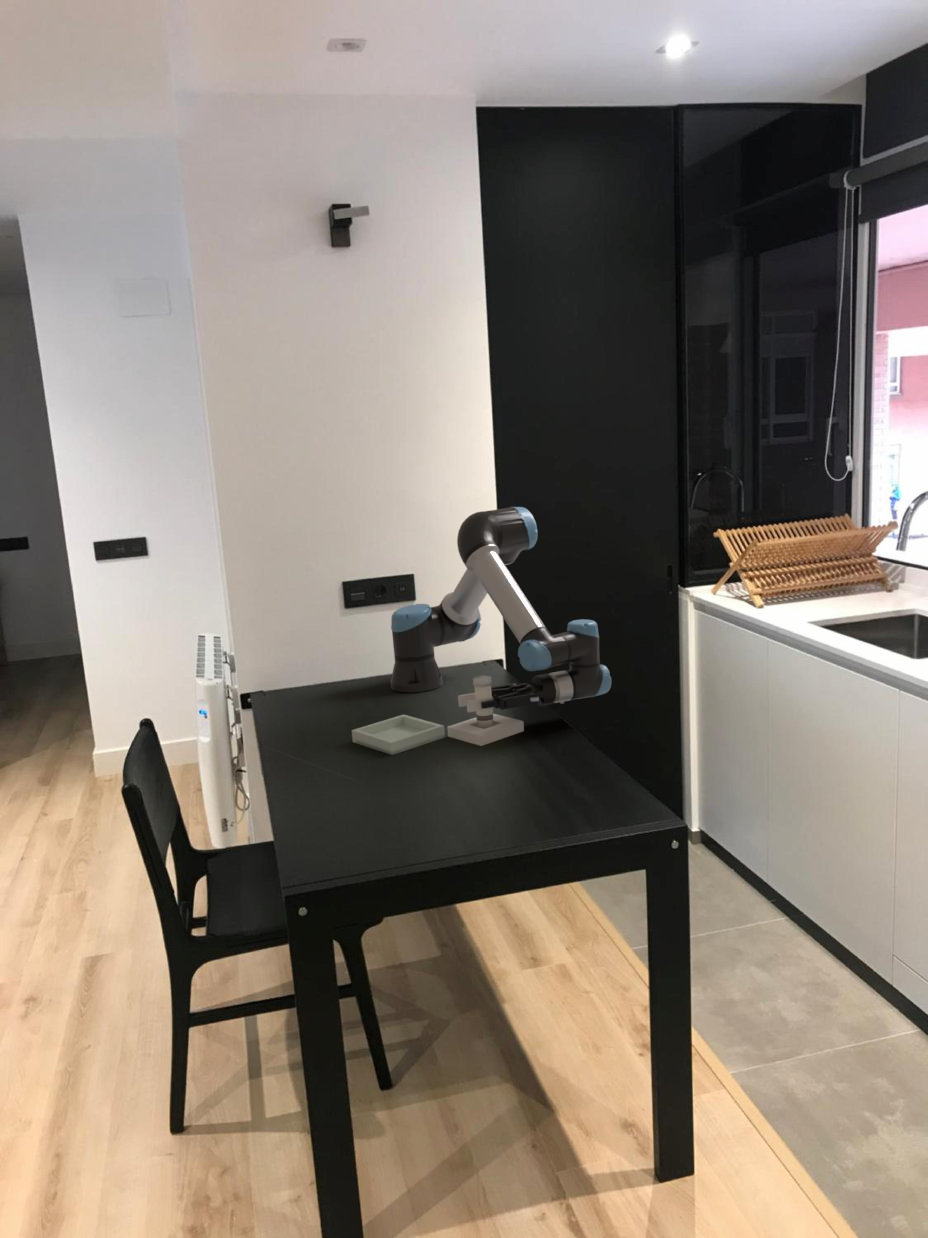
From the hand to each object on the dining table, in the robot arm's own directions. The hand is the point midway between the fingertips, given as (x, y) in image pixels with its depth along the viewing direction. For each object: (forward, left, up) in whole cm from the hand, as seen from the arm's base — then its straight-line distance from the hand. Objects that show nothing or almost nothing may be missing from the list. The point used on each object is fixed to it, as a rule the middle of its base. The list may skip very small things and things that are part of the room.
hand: (463, 704), depth 240 cm
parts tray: (+11, -12, -8) cm, 18 cm away
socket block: (-5, +2, -8) cm, 10 cm away
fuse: (-5, +2, -8) cm, 10 cm away
